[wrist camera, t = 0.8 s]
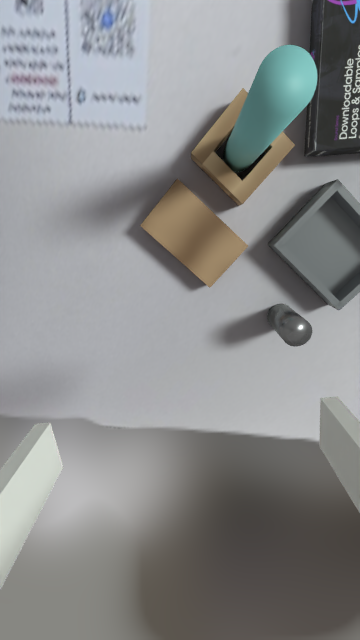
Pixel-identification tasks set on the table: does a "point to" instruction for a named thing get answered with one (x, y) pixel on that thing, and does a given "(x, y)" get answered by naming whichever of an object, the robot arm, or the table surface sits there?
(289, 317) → the bench dog
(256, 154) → the dowel
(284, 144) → the socket block
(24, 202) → the table surface
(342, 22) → the box
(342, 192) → the tray
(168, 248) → the tan block
